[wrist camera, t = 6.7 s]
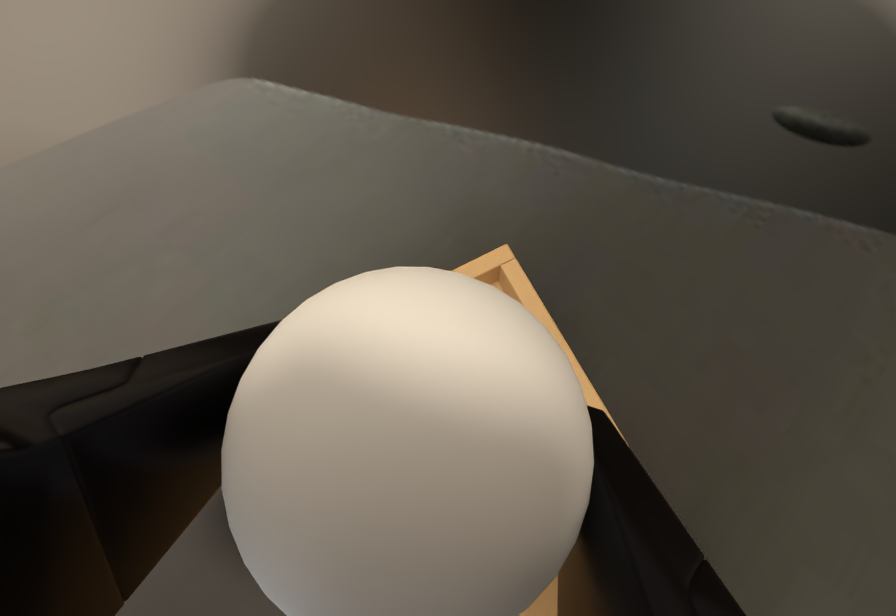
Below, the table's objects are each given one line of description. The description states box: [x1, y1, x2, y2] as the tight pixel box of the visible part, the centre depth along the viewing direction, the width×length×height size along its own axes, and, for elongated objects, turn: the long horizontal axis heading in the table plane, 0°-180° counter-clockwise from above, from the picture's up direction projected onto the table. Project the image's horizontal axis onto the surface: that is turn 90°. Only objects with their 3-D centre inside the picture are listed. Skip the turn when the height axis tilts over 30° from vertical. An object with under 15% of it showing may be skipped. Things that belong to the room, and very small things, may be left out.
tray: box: [452, 244, 630, 616], centre depth 17 cm, size 18×14×2 cm
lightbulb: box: [221, 267, 594, 616], centre depth 10 cm, size 6×6×11 cm
